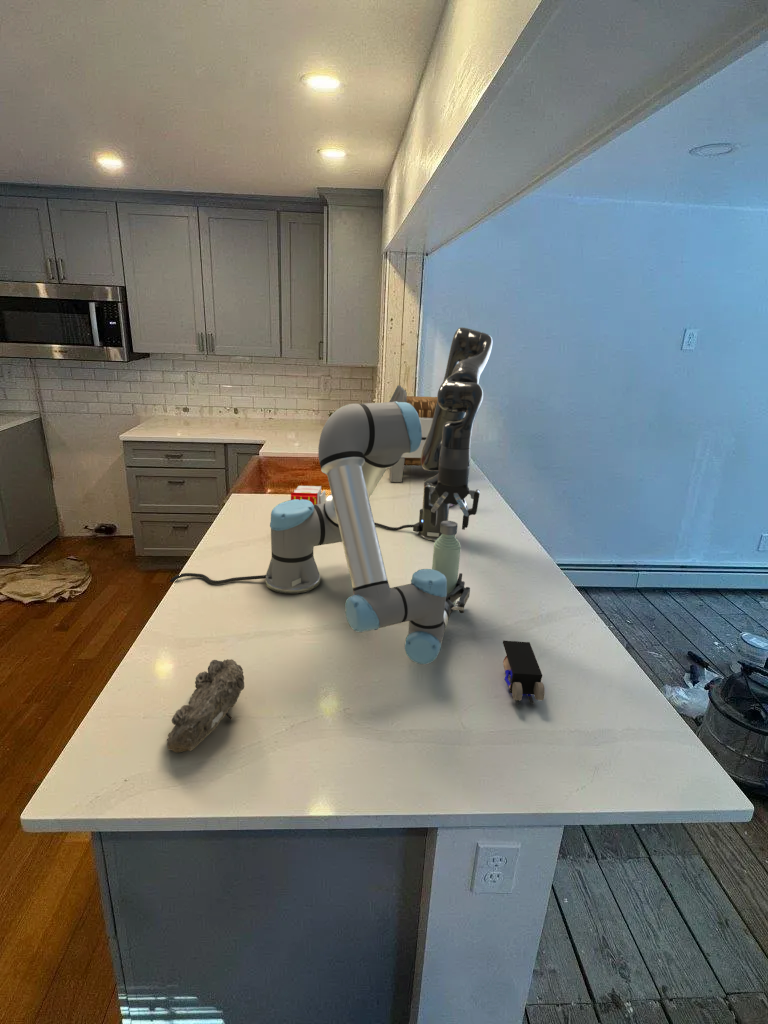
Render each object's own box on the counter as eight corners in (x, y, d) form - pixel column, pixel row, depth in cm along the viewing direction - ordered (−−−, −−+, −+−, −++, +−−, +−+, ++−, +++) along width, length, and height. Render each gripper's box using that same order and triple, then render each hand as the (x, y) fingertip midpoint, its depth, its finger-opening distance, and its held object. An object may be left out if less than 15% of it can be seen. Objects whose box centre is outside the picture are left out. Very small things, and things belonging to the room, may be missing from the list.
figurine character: (543, 716, 114) (525, 665, 128) (550, 687, 111) (531, 638, 124) (510, 715, 114) (496, 664, 127) (516, 687, 111) (500, 637, 124)
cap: (448, 536, 143) (448, 527, 142) (436, 531, 146) (437, 522, 145) (460, 533, 145) (461, 524, 144) (448, 527, 148) (449, 519, 147)
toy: (326, 481, 223) (320, 494, 193) (326, 514, 225) (320, 532, 196) (296, 480, 222) (285, 493, 193) (295, 513, 225) (285, 531, 196)
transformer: (382, 463, 289) (386, 382, 275) (445, 464, 293) (451, 384, 279) (390, 482, 257) (394, 392, 243) (460, 483, 261) (468, 394, 247)
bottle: (441, 614, 148) (448, 531, 140) (423, 603, 153) (430, 523, 145) (460, 607, 152) (468, 526, 144) (442, 597, 157) (449, 518, 149)
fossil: (192, 660, 117) (244, 628, 112) (224, 691, 120) (276, 661, 115) (142, 746, 98) (202, 712, 93) (182, 779, 101) (242, 748, 96)
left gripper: (391, 623, 137) (410, 582, 158) (473, 637, 133) (481, 593, 154) (392, 596, 135) (411, 558, 156) (476, 609, 131) (484, 568, 152)
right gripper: (484, 463, 141) (478, 525, 147) (428, 457, 144) (423, 518, 150) (482, 471, 135) (475, 535, 140) (423, 465, 137) (418, 528, 143)
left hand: (446, 575), depth 155 cm, fingers closed on bottle, 7 cm apart
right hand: (448, 526), depth 145 cm, fingers open, 7 cm apart
